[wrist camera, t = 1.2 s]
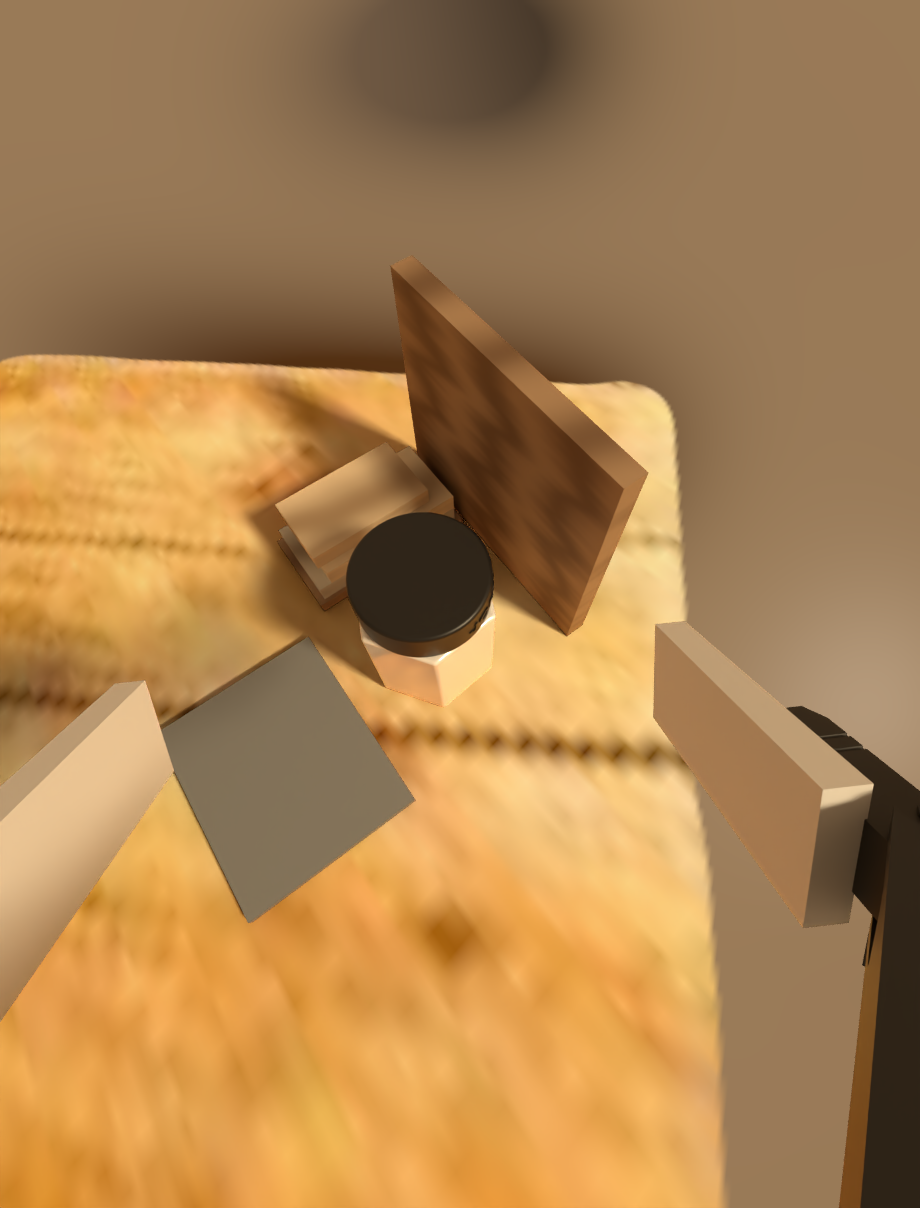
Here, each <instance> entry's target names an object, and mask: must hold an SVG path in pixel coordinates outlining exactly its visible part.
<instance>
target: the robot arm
mask: <svg viewBox="0 0 920 1208" xmlns="http://www.w3.org/2000/svg"><path fill="white" fill-rule="evenodd" d="M653 717H654V719H655V720H656V722H657V723H658V725H659V726H660V727H661V729H662V730H663V732H664V733H665V734H666V736H667V737H668V739H669V740H670V741H671V743H672V744H673V746H674V747H675V749H676V750H677V751H678V753H679V754H680V756H681V757H682V758H683V760H684V761H685V763H686V764H687V765H688V767H689V768H690V770H691V771H692V772H693V774H694V775H695V777H696V778H697V780H698V781H699V782H700V784H701V785H702V787H703V788H704V789H705V791H706V792H707V794H708V795H709V796H710V798H711V799H712V801H713V802H714V803H715V805H716V806H717V808H718V809H719V810H720V812H721V813H722V815H723V816H724V817H725V819H726V820H727V822H728V823H729V825H730V826H731V828H732V829H733V830H734V832H735V833H736V835H737V836H738V837H739V839H740V840H741V841H742V843H743V844H744V846H745V847H746V849H747V850H748V851H749V853H750V854H751V856H752V857H753V859H754V860H755V861H756V863H757V864H758V866H759V867H760V868H761V870H762V871H763V872H764V874H765V875H766V877H767V878H768V880H769V881H770V882H771V884H772V885H773V887H774V888H775V890H776V891H777V892H778V894H779V895H780V897H781V898H782V899H783V901H784V902H785V904H786V905H787V906H788V908H789V909H790V911H791V912H792V913H793V915H794V916H795V918H796V919H797V921H798V922H799V923H800V925H801V926H802V928H809V927H817V926H825V925H834V924H843V923H849V919H850V913H851V907H852V902H853V896H854V894H855V896H856V897H857V898H858V899H859V900H860V901H861V902H862V904H863V905H864V906H865V907H866V908H867V909H868V911H869V912H870V913H871V914H872V918H871V924H870V929H869V934H868V939H867V944H866V949H865V954H864V959H863V964H862V965H863V966H865V973H864V982H863V991H862V1001H861V1010H860V1019H859V1028H858V1038H857V1047H856V1056H855V1065H854V1075H853V1084H852V1093H851V1102H850V1111H849V1120H848V1130H847V1139H846V1148H845V1157H844V1167H843V1176H842V1185H841V1194H840V1203H839V1208H920V791H919V790H918V789H916V788H915V787H914V786H913V785H912V784H910V783H909V782H908V781H906V780H905V779H904V778H903V777H901V776H900V775H899V774H898V773H896V772H895V771H894V770H893V769H891V768H890V767H889V766H888V765H886V764H885V763H884V762H883V761H881V760H880V759H879V758H878V757H876V756H875V755H874V754H872V753H871V752H870V751H869V750H867V749H863V746H862V745H861V744H860V743H859V742H857V741H856V740H855V739H854V738H852V737H851V736H849V737H848V736H847V733H846V732H845V731H843V730H842V729H841V728H840V727H838V726H837V725H836V724H835V723H833V722H832V721H831V720H830V719H828V718H827V717H824V716H822V715H820V714H818V713H816V712H814V711H811V710H809V709H807V708H805V707H802V706H798V707H789V708H785V707H784V706H783V705H781V704H780V703H779V702H778V701H777V700H776V699H774V698H773V697H772V696H771V695H770V694H769V693H768V692H766V691H765V690H764V689H763V688H762V687H761V686H759V685H758V684H757V683H756V682H755V681H754V680H753V679H751V678H750V677H749V676H748V675H747V674H746V673H744V672H743V671H742V670H741V669H739V667H737V666H736V665H735V664H734V663H733V662H731V661H730V660H729V659H728V658H727V657H726V656H725V655H723V654H722V653H721V652H720V651H719V650H718V649H716V648H715V647H714V646H713V645H712V644H710V643H709V642H708V641H707V640H706V639H705V638H704V637H702V636H701V635H700V634H699V633H698V632H697V631H696V630H694V629H693V628H692V627H691V626H690V625H689V624H687V623H686V622H685V621H682V622H672V623H663V624H655V663H654V711H653ZM173 772H174V769H173V766H172V763H171V760H170V757H169V754H168V751H167V747H166V744H165V741H164V738H163V735H162V732H161V729H160V725H159V722H158V719H157V716H156V713H155V710H154V707H153V703H152V700H151V697H150V694H149V691H148V688H147V685H146V681H145V680H143V681H134V682H125V683H116V684H114V685H113V686H112V687H111V688H109V689H108V690H107V691H106V692H105V693H104V694H103V695H102V696H101V697H99V698H98V699H97V700H96V701H95V702H94V703H93V704H92V705H90V706H89V707H88V708H87V709H86V710H85V711H84V712H83V713H82V714H80V715H79V716H78V717H77V718H76V719H75V720H74V721H73V722H71V723H70V724H69V725H68V726H67V727H66V728H65V729H64V730H63V731H61V732H60V733H59V734H58V735H57V736H56V737H55V738H54V739H52V740H51V741H50V742H49V743H48V744H47V745H46V746H45V747H44V748H42V749H41V750H40V751H39V752H38V753H37V754H36V755H35V756H33V757H32V758H31V759H30V760H29V761H28V762H27V763H26V764H25V765H23V766H22V767H21V768H20V769H19V770H18V771H17V772H16V773H14V774H13V775H12V776H11V777H10V778H9V779H8V780H7V781H6V782H4V783H3V784H2V785H1V786H0V1021H1V1020H2V1019H3V1017H4V1016H5V1014H6V1013H7V1011H8V1010H9V1008H10V1007H11V1006H12V1004H13V1003H14V1001H15V1000H16V998H17V997H18V995H19V994H20V993H21V991H22V990H23V988H24V987H25V985H26V984H27V982H28V981H29V980H30V978H31V977H32V975H33V974H34V972H35V971H36V969H37V968H38V967H39V965H40V964H41V962H42V961H43V959H44V958H45V956H46V955H47V954H48V952H49V951H50V949H51V948H52V946H53V945H54V943H55V942H56V941H57V939H58V938H59V936H60V935H61V933H62V932H63V931H64V929H65V928H66V926H67V925H68V923H69V922H70V920H71V919H72V918H73V916H74V915H75V913H76V912H77V910H78V909H79V907H80V906H81V905H82V903H83V902H84V900H85V899H86V897H87V896H88V894H89V893H90V892H91V890H92V889H93V887H94V886H95V884H96V883H97V881H98V880H99V879H100V877H101V876H102V874H103V873H104V871H105V870H106V868H107V867H108V866H109V864H110V863H111V861H112V860H113V858H114V857H115V855H116V854H117V853H118V851H119V850H120V848H121V847H122V845H123V844H124V842H125V841H126V840H127V838H128V837H129V835H130V834H131V832H132V831H133V829H134V828H135V827H136V825H137V824H138V822H139V821H140V819H141V818H142V816H143V815H144V814H145V812H146V811H147V809H148V808H149V806H150V805H151V803H152V802H153V801H154V799H155V798H156V796H157V795H158V793H159V792H160V790H161V789H162V788H163V786H164V785H165V783H166V782H167V780H168V779H169V777H170V776H171V775H172V773H173Z"/></svg>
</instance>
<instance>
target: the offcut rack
mask: <svg viewBox="0 0 920 1208" xmlns="http://www.w3.org/2000/svg"><path fill="white" fill-rule="evenodd" d="M391 273H392V280H393V287H394V294H395V301H396V308H397V315H398V322H399V329H400V336H401V343H402V350H403V357H404V364H405V370H406V378H407V385H408V392H409V399H410V406H411V413H412V420H413V426H414V433H415V440H416V447H417V454H418V455H417V454H416V453H415V452H414V451H413V450H412V449H411V448H410V446H408V447H406V448H405V449H403V450H401V451H399V452H398V453H396V452H395V451H394V450H393V449H392V448H391V447H390V445H389V444H388V443H387V442H385V443H383V444H381V445H380V446H378V447H376V448H374V449H373V450H371V451H369V452H367V453H365V454H364V455H362V456H360V457H358V458H357V459H355V460H353V461H351V462H350V463H348V464H346V465H344V466H342V467H341V468H339V469H337V470H335V471H334V472H332V473H330V474H328V475H327V476H325V477H323V478H321V479H320V480H318V481H316V482H314V483H312V484H311V485H309V486H307V487H305V488H304V489H302V490H300V491H298V492H297V493H295V494H293V495H291V496H289V497H288V498H286V499H284V500H282V501H281V502H279V503H277V504H275V506H276V508H277V510H278V511H279V513H280V515H281V516H282V518H283V519H284V521H285V522H286V524H287V526H285V527H283V528H282V529H280V530H278V531H279V532H280V534H281V536H282V537H283V538H282V539H280V540H278V541H277V542H278V544H279V545H280V547H281V548H282V550H283V551H284V553H285V554H286V556H287V557H288V559H289V560H290V562H291V563H292V565H293V566H294V568H295V569H296V570H297V572H298V573H299V575H300V576H301V578H302V579H303V581H304V582H305V584H306V585H307V587H308V588H309V590H310V591H311V592H312V594H313V595H314V597H315V598H316V600H317V601H318V603H319V604H320V606H321V607H322V609H323V610H324V611H326V610H327V609H329V608H330V607H332V606H333V605H335V604H337V603H338V602H340V601H341V600H343V599H345V598H346V597H348V595H347V590H346V571H347V566H348V563H349V560H350V557H351V555H352V553H353V551H354V549H355V548H356V546H357V544H358V543H359V542H360V541H361V539H362V538H363V537H364V536H365V535H366V534H367V533H368V532H369V531H371V530H372V529H373V528H374V527H376V526H377V525H379V524H381V523H382V522H384V521H386V520H388V519H391V518H393V517H396V516H399V515H403V514H407V513H415V512H430V513H437V514H442V515H445V516H449V517H451V518H454V519H456V520H458V521H460V522H461V523H462V517H461V516H460V515H459V514H458V513H457V512H456V510H455V509H454V507H455V508H456V509H457V510H458V512H459V513H460V514H461V515H462V516H463V517H464V518H465V520H466V521H467V522H468V523H469V524H470V525H471V527H472V528H473V529H474V530H475V531H476V532H477V533H478V535H479V536H480V537H481V538H482V539H483V540H484V541H485V543H486V544H487V545H488V546H489V547H490V548H491V550H492V551H493V552H494V553H495V554H496V555H497V556H498V558H499V559H500V560H501V561H502V562H503V563H504V564H505V566H506V567H507V568H508V569H509V570H510V571H511V573H512V574H513V575H514V576H515V577H516V578H517V579H518V581H519V582H520V583H521V584H522V585H523V586H524V587H525V589H526V590H527V591H528V592H529V593H530V594H531V595H532V597H533V598H534V599H535V600H536V601H537V602H538V604H539V605H540V606H541V607H542V608H543V609H544V610H545V612H546V613H547V614H548V615H549V616H550V617H551V618H552V620H553V621H554V622H555V623H556V624H557V625H558V627H559V628H560V629H561V630H562V631H563V632H564V633H565V635H566V636H568V635H569V634H571V633H572V632H573V631H575V630H576V629H578V628H579V627H580V626H582V625H583V622H584V620H585V618H586V615H587V613H588V611H589V609H590V606H591V604H592V602H593V599H594V597H595V595H596V592H597V590H598V588H599V586H600V583H601V581H602V579H603V576H604V574H605V572H606V569H607V567H608V565H609V563H610V560H611V558H612V556H613V553H614V551H615V549H616V546H617V544H618V542H619V539H620V537H621V535H622V533H623V530H624V528H625V526H626V523H627V521H628V519H629V516H630V514H631V512H632V510H633V507H634V505H635V503H636V500H637V498H638V496H639V493H640V491H641V489H642V487H643V484H644V482H645V480H646V477H647V475H648V472H647V471H646V470H645V469H644V468H643V467H642V466H641V465H639V464H638V463H637V462H636V461H635V460H634V459H633V458H632V457H631V456H630V455H629V454H628V453H626V452H625V451H624V450H623V449H622V448H621V447H620V446H619V445H618V444H617V443H616V442H614V441H613V440H612V439H611V438H610V437H609V436H608V435H607V434H606V433H605V432H604V431H603V430H601V429H600V428H599V427H598V426H597V425H596V424H595V423H594V422H593V421H592V420H591V419H590V418H588V417H587V416H586V415H585V414H584V413H583V412H582V411H581V410H580V409H579V408H578V407H576V406H575V405H574V404H573V403H572V402H571V401H570V400H569V399H568V398H567V397H566V396H565V395H563V394H562V393H561V392H560V391H559V390H558V389H557V388H556V387H555V386H554V385H553V384H551V383H550V382H549V381H548V380H547V379H546V378H545V377H544V376H543V375H542V374H541V373H539V372H538V371H537V370H536V369H535V368H534V367H533V366H532V365H531V364H530V363H529V362H527V361H526V360H525V359H524V358H523V357H522V356H521V355H520V354H519V353H518V352H517V351H516V350H514V349H513V348H512V347H511V346H510V345H509V344H508V343H507V342H506V341H505V340H503V339H502V337H500V336H499V335H498V334H497V333H496V332H495V331H494V330H493V329H492V328H491V327H490V326H488V325H487V324H486V323H485V322H484V321H483V320H482V319H481V318H480V317H479V316H478V315H476V314H475V313H474V312H473V311H472V310H471V309H470V308H469V307H468V306H467V305H465V303H463V302H462V301H461V300H460V299H459V298H458V297H457V296H456V295H455V294H454V293H453V292H452V291H450V290H449V289H448V288H447V287H446V286H445V285H444V284H443V283H442V282H441V281H440V280H438V279H437V278H436V277H435V276H434V275H433V274H432V273H431V272H429V270H428V269H426V268H425V267H424V266H423V265H422V264H421V263H420V262H419V261H418V260H417V259H416V258H415V257H413V256H410V257H407V258H405V259H403V260H401V261H399V262H397V263H395V264H393V265H391Z"/></svg>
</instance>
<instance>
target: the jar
mask: <svg viewBox="0 0 920 1208" xmlns="http://www.w3.org/2000/svg"><path fill="white" fill-rule="evenodd" d="M493 579H494V575H493V569H492V563H491V559H490V556H489V553H488V551H487V549H486V547H485V545H484V543H483V542H482V541H481V539H480V538H479V537H478V536H477V534H476V533H475V532H473V531H472V530H471V529H470V528H469V527H468V526H466V525H465V524H463V523H461V522H460V521H458V520H456V519H454V518H451V517H449V516H445V515H442V514H437V513H430V512H415V513H407V514H403V515H399V516H396V517H393V518H391V519H388V520H386V521H384V522H382V523H381V524H379V525H377V526H376V527H374V528H373V529H372V530H371V531H369V532H368V533H367V534H366V535H365V536H364V537H363V538H362V539H361V541H360V542H359V543H358V544H357V546H356V548H355V549H354V551H353V553H352V555H351V557H350V560H349V563H348V566H347V571H346V590H347V595H348V598H349V601H350V604H351V606H352V608H353V610H354V612H355V614H356V616H357V619H358V621H359V625H360V633H361V640H362V642H363V644H364V646H365V648H366V650H367V652H368V654H369V656H370V658H371V660H372V662H373V664H374V666H375V668H376V670H377V672H378V674H379V676H380V678H381V680H382V682H383V684H384V686H385V687H386V688H388V689H391V690H394V691H397V692H400V693H403V694H406V695H409V696H412V697H415V698H418V699H421V700H424V701H427V702H430V703H432V704H435V705H438V706H441V707H445V706H447V705H448V704H449V703H450V702H452V701H453V700H454V699H455V698H456V697H457V696H459V695H460V694H461V693H462V692H463V691H465V690H466V689H467V688H468V687H469V686H471V685H472V684H473V683H474V682H475V681H476V680H478V679H479V678H480V677H481V676H482V675H484V674H485V673H486V672H487V671H488V670H490V669H491V668H492V661H493V647H494V633H495V620H496V614H495V610H494V606H493V601H492V598H493V590H494V580H493Z"/></svg>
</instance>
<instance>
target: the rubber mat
mask: <svg viewBox="0 0 920 1208" xmlns="http://www.w3.org/2000/svg"><path fill="white" fill-rule="evenodd" d="M161 732H162V735H163V738H164V741H165V744H166V747H167V751H168V754H169V757H170V760H171V763H172V766H173V769H174V772H175V774H176V776H177V778H178V780H179V782H180V784H181V786H182V788H183V790H184V792H185V794H186V796H187V798H188V801H189V803H190V805H191V807H192V809H193V811H194V813H195V815H196V817H197V819H198V821H199V823H200V825H201V827H202V829H203V831H204V833H205V835H206V837H207V840H208V842H209V844H210V846H211V848H212V850H213V852H214V854H215V856H216V858H217V860H218V862H219V864H220V866H221V868H222V870H223V872H224V874H225V876H226V879H227V881H228V883H229V885H230V887H231V889H232V891H233V893H234V895H235V897H236V899H237V901H238V903H239V905H240V907H241V909H242V911H243V913H244V915H245V918H246V920H247V922H248V923H251V922H254V921H255V920H256V919H258V918H259V917H260V916H262V915H263V914H264V913H266V912H267V911H268V910H270V909H271V908H272V907H274V906H275V905H276V904H278V903H279V902H280V901H282V900H283V899H284V898H286V897H287V896H288V895H290V894H291V893H292V892H294V891H295V890H296V889H298V888H299V887H300V886H302V885H303V884H304V883H306V882H307V881H308V880H310V879H311V878H312V877H314V876H315V875H317V874H318V873H319V872H321V871H322V870H323V869H325V868H326V867H327V866H329V865H330V864H331V863H333V862H334V861H335V860H337V859H338V858H339V857H341V856H342V855H343V854H345V853H346V852H347V851H349V850H350V849H351V848H353V847H354V846H355V845H357V844H358V843H359V842H361V841H362V840H363V839H365V838H366V837H367V836H369V835H370V834H371V833H373V832H374V831H375V830H377V829H378V828H379V827H381V826H382V825H383V824H385V823H386V822H388V821H389V820H390V819H392V818H393V817H394V816H396V815H397V814H398V813H400V812H401V811H402V810H404V809H405V808H406V807H408V806H409V805H410V804H412V803H413V802H414V801H416V800H415V799H414V797H413V795H412V794H411V792H410V791H409V789H408V788H407V786H406V785H405V783H404V782H403V780H402V779H401V777H400V776H399V774H398V773H397V771H396V769H395V768H394V766H393V765H392V763H391V762H390V760H389V759H388V757H387V756H386V754H385V753H384V751H383V750H382V748H381V747H380V745H379V743H378V742H377V740H376V739H375V737H374V736H373V734H372V733H371V731H370V730H369V728H368V727H367V725H366V724H365V722H364V721H363V719H362V717H361V716H360V714H359V713H358V711H357V710H356V708H355V707H354V705H353V704H352V702H351V701H350V699H349V698H348V696H347V695H346V693H345V691H344V690H343V688H342V687H341V685H340V684H339V682H338V681H337V679H336V678H335V676H334V675H333V673H332V672H331V670H330V669H329V667H328V665H327V664H326V662H325V661H324V659H323V658H322V656H321V655H320V653H319V652H318V650H317V649H316V647H315V646H314V644H313V643H312V641H311V640H310V638H309V637H307V638H305V639H304V640H302V641H301V642H299V643H297V644H296V645H294V646H293V647H291V648H290V649H288V650H286V651H285V652H283V653H282V654H280V655H279V656H277V657H275V658H274V659H272V660H271V661H269V662H268V663H266V664H264V665H263V666H261V667H260V668H258V669H256V670H255V671H253V672H252V673H250V674H249V675H247V676H245V677H244V678H242V679H241V680H239V681H238V682H236V683H234V684H233V685H231V686H230V687H228V688H227V689H225V690H223V691H222V692H220V693H219V694H217V695H216V696H214V697H212V698H211V699H209V700H208V701H206V702H204V703H203V704H201V705H200V706H198V707H197V708H195V709H193V710H192V711H190V712H189V713H187V714H186V715H184V716H182V717H181V718H179V719H178V720H176V721H175V722H173V723H171V724H170V725H168V726H167V727H165V728H164V729H162V730H161Z"/></svg>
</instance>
